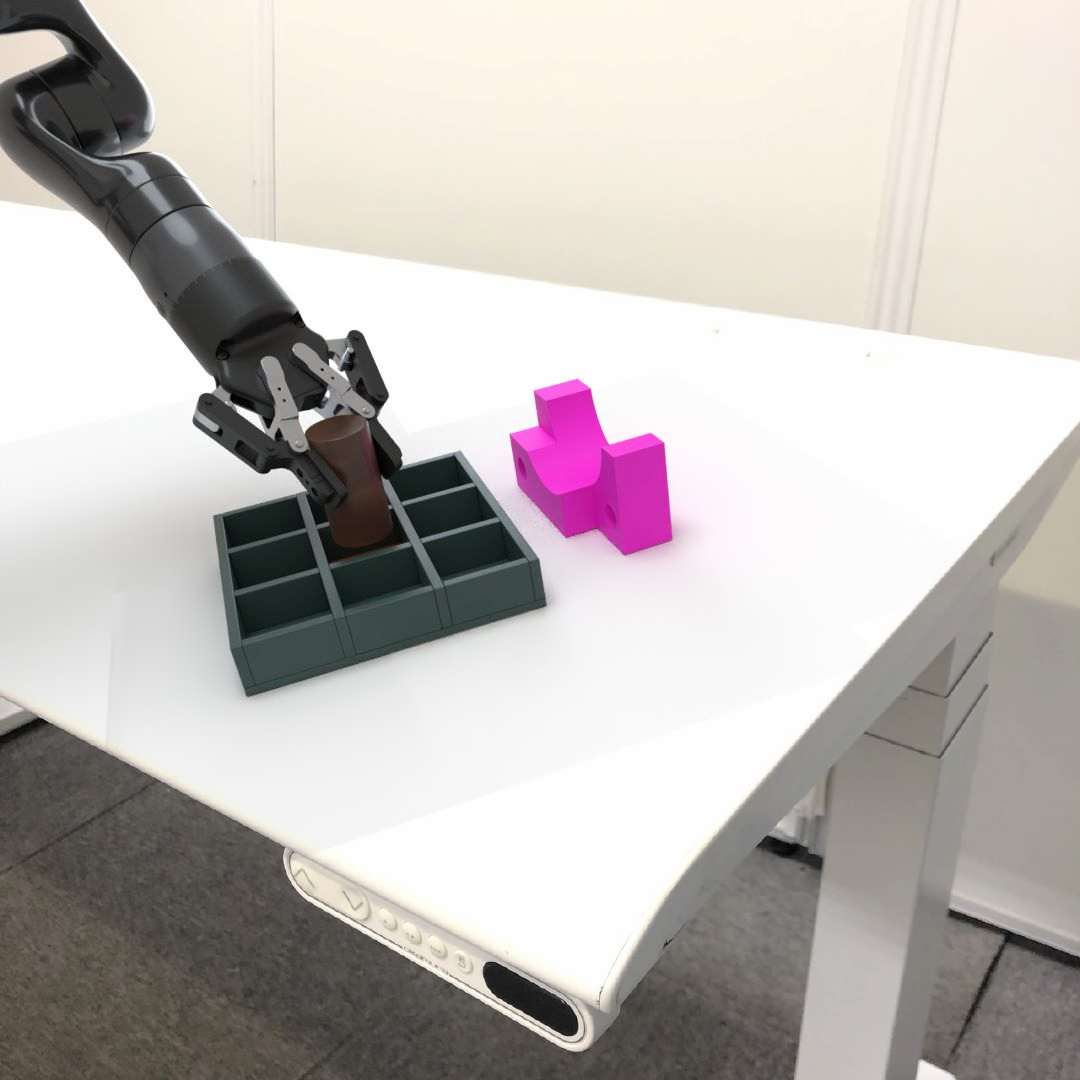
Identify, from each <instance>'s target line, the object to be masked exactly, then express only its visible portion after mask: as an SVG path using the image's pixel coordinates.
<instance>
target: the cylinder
mask: <svg viewBox="0 0 1080 1080" xmlns="http://www.w3.org/2000/svg"><path fill="white" fill-rule="evenodd" d="M304 434H305V437H306V439H307V442H308V449H309V450H312V449H315V450H316V451H317V452H318V453H319V454H320V455H321V457H322V458H323V459H324V460H325V462H326V463H327V464H328V465H329V467H330V468H331V469H332V470H333V472H334V473H335V474H336V476H337V477H338V478H339V479H340V481H341V482H342V483H343V484H344V486H345V487H346V489H347V491H348V496H347V498H346V499H345V501H344V503H343V504H342V505H341V506H340V507H338V508H336V509H334V510H331V509H329V508H328V507H327V505H326V504H325V505H324V507H325V511H326V514H327V518H328V522H329V525H330V529H331V532H332V536H333V540H334V541H335V542H336V543H337V544H338V545H340V546H343V547H362V546H367V545H370V544H373V543H376V542H378V541H380V540H382V539H384V538H385V537H386V536H388V535H389V534H390V532H391V531H392V529H393V523H392V519H391V514H390V510H389V506H388V502H387V498H386V494H385V490H384V486H383V482H382V478H381V473H380V469H379V465H378V461H377V457H376V453H375V449H374V445H373V441H372V437H371V432H370V428H369V424H368V421H367V419H366V418H365V417H363V416H360V415H339V416H334V417H330V418H327V419H325V418H323V419H321V420H319V421H317V422H315V423H313V424H311V425H309V426H308V428H307V429H306V430H305V432H304Z"/></svg>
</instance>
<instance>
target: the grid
mask: <svg viewBox="0 0 1080 1080" xmlns="http://www.w3.org/2000/svg"><path fill="white" fill-rule="evenodd" d="M381 478H382V482H383V486H384V490H385V494H386V498H387V502H388V506H389V510H390V514H391V519H392V523H393V529H392V531H391V532H390V534H389V535H388V536H386V537H385V538H384V539H382V540H380V541H378V542H376V543H373V544H370V545H367V546H362V547H343V546H340V545H338V544H337V543H336V542H335V541H334V540H333V536H332V532H331V529H330V525H329V522H328V518H327V514H326V511H325V507H324V506H321V505H320V504H318V503H317V502H315V500H314V499H313V498H312V497H311V495H310V494H309V493H308V492H307V490H305V491H300V492H296V493H293V494H290V495H285V496H283V497H279V498H274V499H271V500H267V501H262V502H260V503H255V504H252V505H247V506H244V507H240V508H237V509H233V510H229V511H226V512H221V513H218V514H214V515H213V516H212V519H213V520H212V521H213V528H214V536H215V541H216V542H215V543H216V550H217V556H218V565H219V573H220V574H219V575H220V581H221V588H222V597H223V605H224V611H225V620H226V627H227V634H228V635H227V636H228V641H229V650H230V653H231V656H232V659H233V661H234V664H235V667H236V670H237V673H238V676H239V679H240V682H241V685H242V688H243V691H244V693H245V696H246V697H250V696H253V695H257V694H260V693H263V692H267V691H270V690H274V689H276V688H279V687H282V686H285V685H289V684H294V683H296V682H299V681H302V680H305V679H310V678H312V677H315V676H319V675H322V674H327V673H328V672H332V671H335V670H339V669H342V668H346V667H349V666H353V665H356V664H359V663H362V662H365V661H368V660H373V659H375V658H378V657H382V656H384V655H388V654H391V653H395V652H398V651H402V650H405V649H408V648H411V647H415V646H417V645H421V644H425V643H427V642H431V641H434V640H438V639H441V638H445V637H448V636H451V635H455V634H457V633H458V634H459V633H461V632H465V631H467V630H471V629H474V628H478V627H480V626H484V625H487V624H491V623H493V622H497V621H501V620H503V619H507V618H511V617H514V616H517V615H521V614H523V613H527V612H530V611H534V610H536V609H540V608H544V607H546V606H547V597H546V592H545V585H544V579H543V573H542V567H541V560H540V558H539V557H538V555H537V554H536V552H535V551H534V550H533V548H532V546H530V544H529V542H528V541H527V539H525V537H524V536H523V534H522V532H520V530H519V529H518V528H517V526H516V525H515V523H514V522H513V521H512V519H511V518H510V516H509V515H508V513H507V512H506V511H505V510H504V508H503V507H502V505H501V504H500V503H499V501H498V500H497V499H496V497H495V495H494V494H493V493H492V491H491V490H490V489H489V487H488V486H487V485H486V484H485V482H484V481H483V479H482V478H481V476H480V475H479V474H478V472H477V471H476V470H475V468H474V466H472V464H471V463H470V461H469V460H468V458H467V457H466V456H465V454H464V453H463V452H462V450H457V451H454V452H453V451H452V452H449V453H446V454H445V453H444V454H442V455H439V456H434V457H431V458H427V459H423V460H420V461H419V460H418V461H415V462H412V463H408V464H403V465H402V467H401V468H400V470H399V472H398V473H397V475H395V476H394V477H392V478H390V479H388V480H386V479H384V478H383V477H382V476H381Z"/></svg>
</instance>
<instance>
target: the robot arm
mask: <svg viewBox="0 0 1080 1080" xmlns="http://www.w3.org/2000/svg"><path fill="white" fill-rule="evenodd" d="M37 32H46V33H50V34H51V35H53V37H55V38H56V39H57V40H58V41H59V42H60V44H62V46H63V48H64V49H65V52H66V54H64V55H62V56H60V57H58V58H54V59H53V60H50V61H48V62H45V63H43V64H40V65H38V66H35V67H33V68H30V69H28V71H27V70H25V71H22V72H21V73H18V74H16V75H13V76H11V77H9V78H7V79H5V80H4V81H2V82H0V149H1V150H2V151H3V153H4V154H6V157H8V158H9V159H10V161H12V163H14V165H16V166H17V167H18V168H19V170H21V171H22V172H23V173H24V174H26V175H27V176H28V177H29V178H30V179H31V180H33V181H34V182H35V183H37V184H38V185H40V186H41V187H43V188H44V189H45V190H47V191H48V192H49V193H51V194H53V195H54V196H55V197H57V198H58V199H59V200H61V201H63V202H64V203H65V204H67V205H68V206H70V207H71V208H72V209H74V210H75V211H76V212H77V213H78V214H80V215H81V216H82V217H83V218H85V219H86V220H87V221H88V222H89V223H91V224H92V225H93V226H94V227H95V228H96V229H97V230H99V231H100V233H101V235H103V236H104V237H105V239H106V240H107V241H108V243H109V244H110V245H111V247H112V248H113V249H114V250H115V252H116V253H117V254H118V256H119V257H120V258H121V259H122V261H123V262H124V263H125V265H126V266H127V267H128V268H129V270H130V271H131V272H132V273H133V275H134V276H135V277H136V279H137V281H138V283H139V284H140V286H141V288H142V289H143V291H144V293H145V294H146V296H147V298H148V299H149V301H150V302H151V303H152V305H153V306H154V307H155V309H156V310H157V312H158V314H159V315H160V316H161V317H162V319H163V320H165V321H166V323H167V324H168V325H169V326H170V328H171V329H172V330H173V331H174V333H175V334H176V336H177V337H178V338H179V339H180V340H181V342H182V343H183V345H184V346H185V348H186V349H187V350H188V351H189V352H190V353H191V354H192V355H193V357H194V359H195V360H196V361H197V362H198V363H199V365H200V366H201V367H202V369H203V370H204V372H206V373H207V374H208V375H209V376H211V377H212V378H213V379H214V382H215V389H214V390H213V391H212V392H204V393H201V394H200V395H199V396H198V399H197V402H196V406H195V409H194V413H193V415H192V419H191V422H192V424H193V426H194V427H195V428H197V429H198V430H199V431H201V432H202V433H203V434H205V435H206V436H208V437H209V438H210V439H212V440H213V441H214V442H215V443H217V444H218V445H220V446H221V447H222V448H224V449H225V450H226V451H228V452H229V453H230V454H232V455H233V456H235V457H236V458H238V459H239V460H240V461H241V462H243V463H244V464H245V465H246V466H248V467H249V468H251V469H252V470H253V471H254V472H256V473H258V474H260V475H267V474H269V473H271V471H273V470H279V469H282V470H283V469H284V470H287V471H290V472H291V473H292V474H293V475H294V476H295V478H296V479H297V480H298V482H299V483H300V484H301V486H303V488H304V489H305V491H307V492H308V493H309V494H310V495H311V497H312V498H313V499H314V500H315V502H317V503H318V504H320V505H321V506H324V505H325V504H326V505H327V507H328V508H329V509H331V510H334V509H336V508H338V507H340V506H341V505H342V504H343V503H344V501H345V499H346V498H347V496H348V491H347V489H346V487H345V486H344V484H343V483H342V482H341V481H340V479H339V478H338V477H337V476H336V474H335V473H334V472H333V470H332V469H331V468H330V467H329V465H328V464H327V463H326V462H325V460H324V459H323V458H322V457H321V455H320V454H319V453H318V452H317V451H316V450H315V449H312V450H309V449H308V442H307V439H306V437H305V432H304V430H303V428H302V425H301V423H300V418H299V417H300V413H301V412H306V411H311V410H313V411H314V412H315V413H317V414H318V415H319V416H320V417H322V418H323V419H327V418H330V417H334V416H339V415H360V416H363V417H365V418H366V419H367V421H368V424H369V428H370V432H371V437H372V441H373V445H374V449H375V453H376V457H377V461H378V465H379V469H380V473H381V476H382V477H383V478H384V479H386V480H388V479H390V478H392V477H394V476H395V475H397V473H398V472H399V470H400V468H401V467H402V466H403V465H404V462H403V459H402V457H403V452H402V449H401V447H400V446H399V444H397V442H396V441H395V440H394V439H393V438H392V436H391V435H390V434H389V433H388V431H387V430H386V429H385V428H384V426H383V425H382V424H381V423H380V421H379V419H378V417H379V415H380V414H381V412H382V410H383V407H384V406H385V404H386V403H387V402H388V400H389V397H390V392H389V390H388V389H387V386H386V383H385V381H384V379H383V377H382V375H381V372H380V370H379V367H378V365H377V363H376V360H375V358H374V355H373V354H372V351H371V348H370V346H369V344H368V342H367V340H366V337H365V335H364V334H363V333H362V332H361V331H360V330H358V329H351V330H349V332H347V335H346V337H344V338H332V339H326V338H325V337H324V336H323V335H321V334H320V333H318V332H316V331H314V330H313V329H311V328H310V327H309V326H308V325H307V324H306V322H305V321H304V319H303V317H302V315H301V312H300V310H299V308H298V306H297V305H296V303H295V302H294V301H293V299H292V298H291V297H290V296H289V295H288V293H287V292H286V291H285V289H284V288H283V287H282V285H280V283H279V282H278V281H277V280H276V278H275V277H274V276H273V275H272V273H271V272H270V270H269V269H268V268H267V267H266V266H265V264H264V263H263V262H262V261H261V260H260V259H259V257H258V256H257V255H256V254H255V252H254V251H253V250H252V248H251V247H250V246H249V245H248V243H247V242H246V241H245V240H244V238H242V236H241V235H240V234H239V232H237V231H236V230H235V228H234V227H232V226H231V225H230V224H229V223H228V222H227V221H226V220H225V219H224V218H222V216H220V214H219V213H218V212H217V211H216V210H215V209H214V208H213V206H212V205H211V204H210V202H209V201H208V200H207V198H206V197H205V196H204V195H203V194H202V193H201V191H200V189H199V188H198V187H197V186H196V184H194V181H192V179H191V177H189V176H188V175H187V173H186V172H185V170H183V169H182V167H181V166H180V165H179V164H178V163H177V162H176V161H174V159H172V158H171V157H169V156H167V155H166V154H163V153H161V152H156V151H138V152H132V151H134V150H137V149H139V148H140V147H143V145H145V144H146V143H148V142H149V140H151V138H152V136H153V134H154V130H155V126H156V110H155V104H154V99H153V96H152V94H151V92H150V90H149V88H148V87H147V85H146V82H145V81H144V79H143V78H142V77H141V76H140V74H139V73H138V71H137V70H136V69H135V67H134V66H133V65H132V64H131V63H130V61H129V60H128V59H127V58H126V57H125V55H124V54H123V53H122V51H121V50H120V49H119V48H118V47H117V46H116V44H115V43H114V42H113V41H112V40H111V38H110V37H109V35H108V34H107V33H106V32H105V30H104V29H103V28H102V27H101V25H100V24H99V23H98V21H97V20H96V18H95V16H93V14H92V13H91V11H90V10H89V8H88V7H87V6H86V4H85V2H84V1H83V0H0V37H7V36H13V35H21V34H27V33H37ZM330 360H332V361H333V362H334V363H335V365H336V366H337V370H338V371H339V372H341V373H345V376H346V378H347V379H346V378H345V377H344V376H343V375H341V374H340V373H338V371H336V370H335V369H334V368H332V367H331V366H330ZM327 392H329V396H328V397H327V396H326V395H327ZM237 407H239V408H242V409H244V410H246V411H248V412H250V413H253V414H256V415H257V417H258V418H259V421H260V424H261V426H262V428H263V430H262V429H261V428H259V427H257V426H256V425H255V424H254V423H253V422H251V421H249V420H248V418H246V417H244V416H243V415H241V413H239V412H238V410H237V409H238V408H237Z"/></svg>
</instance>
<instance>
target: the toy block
mask: <svg viewBox="0 0 1080 1080" xmlns="http://www.w3.org/2000/svg"><path fill="white" fill-rule="evenodd" d="M533 397H534V403H535V412H536V417H537V424H538V425H536V426H532V427H529V428H525V429H522V430H518V431H514V432H511V433H509V441H510V446H511V452H512V460H513V465H514V472H515V477H516V484H517V486H518V487H519V488H520V490H522V492H524V494H525V495H526V496H527V497H528V499H530V501H532V502H533V504H535V506H536V507H537V508H538V509H539V510H540V511H541V512H542V514H543V515H544V516H545V517H546V518H547V519H548V520H549V521H550V522H551V523H552V524H553V525H554V526H555V527H556V528H557V529H558V531H559V532H560V533H561V534H562V535H563V536H564V538H569V537H572V536H573V537H574V536H575V535H579V534H581V533H585V532H588V531H592V530H595V529H597V530H599V532H601V534H603V536H605V537H606V538H607V539H608V540H609V541H610V542H611V543H612V544H613V545H614V546H615V548H616V549H618V550H619V552H620V553H622V555H624V556H626V555H629V554H632V553H635V552H638V551H642V550H644V549H648V548H651V547H655V546H657V545H661V544H663V543H667V542H669V541H672V540H674V539H673V538H674V537H673V526H672V517H671V504H670V503H671V502H670V492H669V491H670V490H669V480H668V470H667V469H668V467H667V455H666V443H665V442H664V441H663V440H662V439H660V438H659V437H658V436H656V435H655V434H654V433H653V432H648V433H645V434H642V435H638V436H634V437H631V438H628V439H624V440H621V441H618V442H614V443H610V444H609V441H608V440H607V437H606V435H605V433H604V430H603V428H602V425H601V423H600V419H599V416H598V412H597V410H596V406H595V402H594V397H593V392H592V388H591V387H590V386H588V385H587V384H586V383H584V382H583V381H581V380H580V379H579V378H574V379H570V380H567V381H564V382H560V383H555V384H552V385H548V386H544V387H541V388H538V389H534V390H533Z"/></svg>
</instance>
